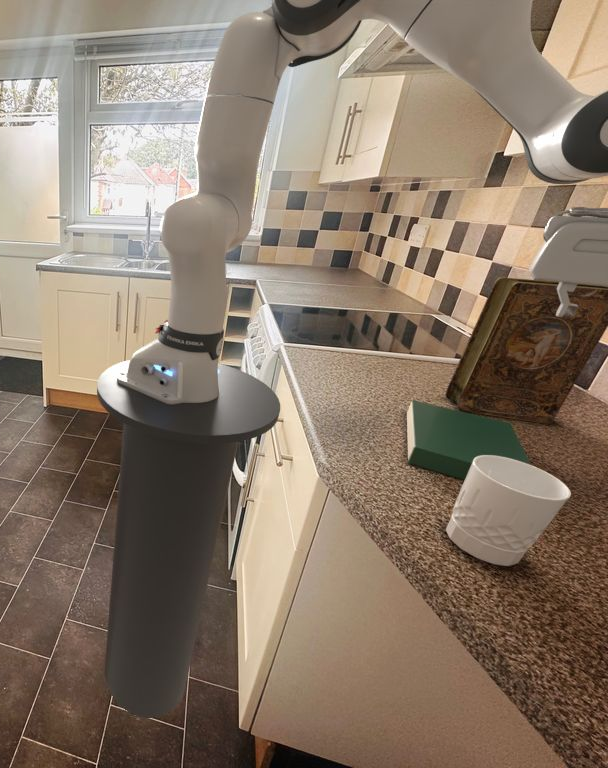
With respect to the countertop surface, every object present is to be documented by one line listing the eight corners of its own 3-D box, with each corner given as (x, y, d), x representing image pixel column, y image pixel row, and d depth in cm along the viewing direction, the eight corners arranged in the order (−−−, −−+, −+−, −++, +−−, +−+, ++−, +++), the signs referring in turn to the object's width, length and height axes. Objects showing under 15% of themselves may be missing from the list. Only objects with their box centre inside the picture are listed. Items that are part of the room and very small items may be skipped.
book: (539, 412, 82) (609, 285, 72) (557, 425, 78) (636, 292, 67) (442, 398, 87) (496, 276, 76) (454, 410, 82) (513, 282, 71)
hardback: (407, 463, 64) (414, 446, 63) (406, 413, 80) (411, 399, 78) (529, 499, 57) (540, 482, 56) (502, 437, 73) (510, 422, 71)
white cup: (423, 520, 53) (455, 454, 49) (481, 519, 53) (517, 454, 49) (479, 572, 46) (522, 500, 41) (545, 570, 46) (593, 499, 42)
